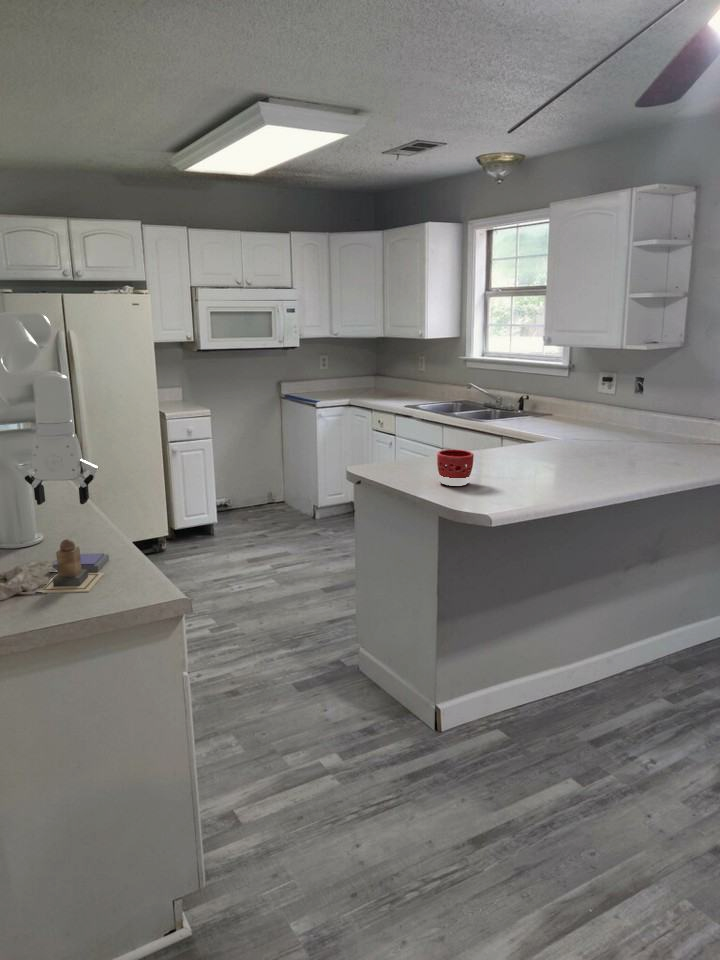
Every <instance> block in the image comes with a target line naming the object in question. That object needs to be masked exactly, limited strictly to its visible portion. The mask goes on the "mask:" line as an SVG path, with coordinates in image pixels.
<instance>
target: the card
mask: <svg viewBox="0 0 720 960" xmlns="http://www.w3.org/2000/svg"><path fill="white" fill-rule="evenodd" d="M55 574H56V575H57V574H58V573H55ZM56 575H55V576H56ZM104 575H105V572H88V578H87V579H86V580H85V581H84V582H83V583H82V584H81V585H80V586H63V587H54V586H53V578H54V577H55V576H54V577H53V578H51V577H50V578H51V579H50V578H49V579H50V581H49V583H48V584H47V585H46V586H45V587H44V588H43V589H42V591H39V592H42V593H41V594H49V593H50V594H56V593H60V594H61V593H90V591H91V590H92V589H93V588H94V587H95V586H96V584H97V583H98V582H99V581H100V580H101V579H102V577H103V576H104Z"/></svg>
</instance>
